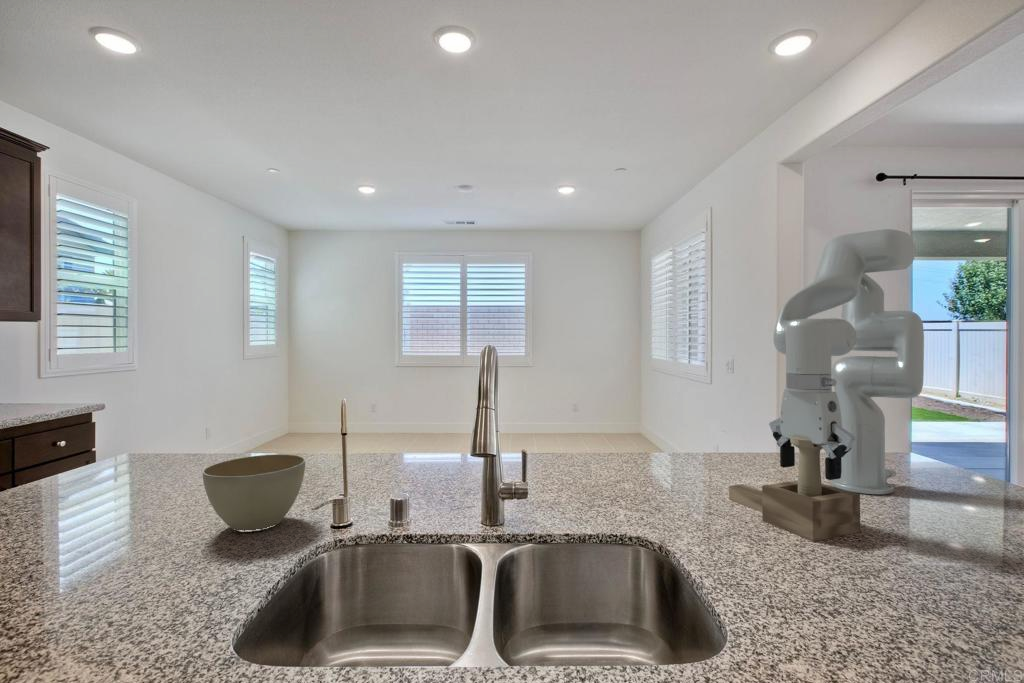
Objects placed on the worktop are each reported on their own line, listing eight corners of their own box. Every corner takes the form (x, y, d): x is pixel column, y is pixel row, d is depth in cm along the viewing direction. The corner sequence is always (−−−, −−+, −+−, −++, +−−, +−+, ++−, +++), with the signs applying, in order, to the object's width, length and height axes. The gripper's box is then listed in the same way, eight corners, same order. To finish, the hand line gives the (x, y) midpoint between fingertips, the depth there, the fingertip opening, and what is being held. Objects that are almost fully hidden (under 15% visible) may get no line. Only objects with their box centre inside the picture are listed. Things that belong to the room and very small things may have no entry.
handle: (833, 520, 93) (834, 440, 93) (797, 519, 94) (797, 440, 94) (820, 510, 98) (820, 434, 98) (786, 510, 99) (786, 434, 98)
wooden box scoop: (756, 495, 115) (756, 464, 115) (860, 532, 93) (859, 494, 93) (714, 501, 111) (714, 469, 111) (812, 541, 89) (812, 501, 89)
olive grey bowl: (286, 504, 112) (285, 450, 112) (320, 525, 99) (320, 463, 99) (192, 525, 99) (191, 464, 99) (218, 552, 86) (217, 482, 86)
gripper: (867, 386, 89) (868, 482, 89) (784, 379, 105) (785, 460, 105) (837, 387, 87) (838, 486, 87) (757, 380, 103) (757, 464, 103)
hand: (809, 472), depth 96 cm, fingers open, 9 cm apart
